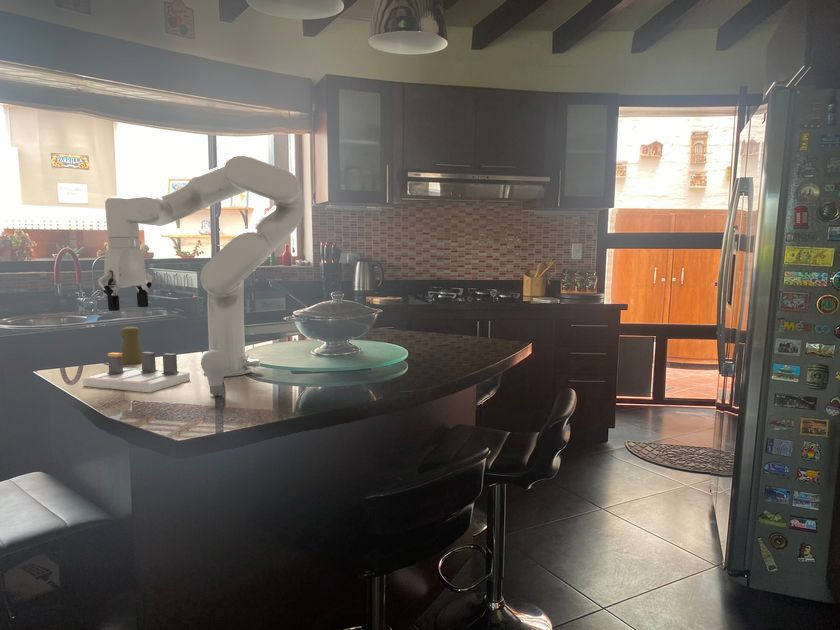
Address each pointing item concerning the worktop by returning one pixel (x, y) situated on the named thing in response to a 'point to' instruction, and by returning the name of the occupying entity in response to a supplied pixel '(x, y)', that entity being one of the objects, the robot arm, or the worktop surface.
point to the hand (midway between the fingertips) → (129, 308)
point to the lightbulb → (214, 369)
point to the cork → (131, 346)
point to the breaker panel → (136, 380)
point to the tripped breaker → (115, 363)
